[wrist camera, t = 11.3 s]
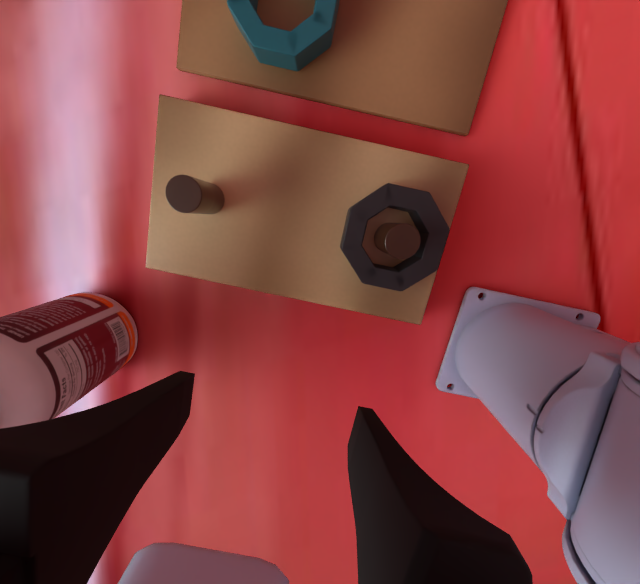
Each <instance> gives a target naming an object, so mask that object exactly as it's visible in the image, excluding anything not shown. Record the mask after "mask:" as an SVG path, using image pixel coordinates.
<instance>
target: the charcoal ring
mask: <svg viewBox="0 0 640 584" xmlns="http://www.w3.org/2000/svg"><path fill="white" fill-rule="evenodd" d="M386 208H392V209H397V210H401V211H406V212H408V213H409V215H410V217H411V219H412V220H413V222H414V224H415V226H416V227H417V229H418V231H419V234H420V239H421V242H420V246H419V249H418V251H417V252H416V253H415V254H414V255H413V256H412V257H410V258H407V259H406V260H404V261H402V262H401V263H399V264H397V265H396V266H394V267H389V266H384V265H379V264H375V263H372V261H371V259H370V258H369V256H368V255H367V253H366V251H365V250H364V248H363V246H362V243H363V239H364V235H365V231H366V227H367V223H368V220H369V219H371V218H372V217H374V216H375V215H377V214H378V213H380V212H381V211H383V210H385V209H386ZM449 229H450V228H449V226H448V225H447V223H446V221H445V219H444V217H443V215H442V214H441V212H440V210H439V208H438V206H437V204H436V203H435V201H434V199H433V197H432V195H431V193H430V192H427V191H423V190H418V189H414V188H409V187H405V186H400V185H396V184H391V183H387V184H385V185H383V186H381V187H380V188H378V189H377V190H375V191H374V192H372V193H371V194H369V195H368V196H366V197H365V198H363V199H362V200H360V201H359V202H357V203H356V204H354V205H353V206H351V207H350V208H349V209H348V212H347V216H346V221H345V225H344V230H343V234H342V238H341V243H340V248H341V250H342V252H343V254H344V255H345V257H346V258H347V260H348V261H349V263H350V265H351V266H352V268H353V269H354V271H355V273H356V274H357V276H358V277H359V279H360V280H361V282H362V283H363V284H367V285H372V286H376V287H381V288H386V289H391V290H395V291H404V290H405V289H407V288H409V287H410V286H412V285H414V284H415V283H417V282H419V281H420V280H422V279H424V278H425V277H427V276H429V275H430V274H432V273H434V272H435V271H437V270H438V267H439V264H440V260H441V257H442V254H443V251H444V247H445V244H446V241H447V237H448V234H449V231H450V230H449Z"/></svg>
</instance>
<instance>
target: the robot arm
mask: <svg viewBox="0 0 640 584" xmlns="http://www.w3.org/2000/svg"><path fill="white" fill-rule="evenodd" d="M480 293H483V296H482V298H478V295H479V294H480ZM578 314H579V317H578V318H576V316H577V315H578ZM599 322H600V316H599V314H597V313H594V312H591V311H586V310H582V309H577V308H572V307H568V306H563V305H558V304H554V303H549V302H544V301H540V300H535V299H530V298H526V297H521V296H516V295H511V294H507V293H502V292H497V291H493V290H488V289H483V288H479V287H470V288H468V289H467V290H466V292H465V295H464V298H463V301H462V304H461V307H460V310H459V313H458V316H457V319H456V322H455V325H454V328H453V331H452V334H451V337H450V340H449V343H448V346H447V349H446V352H445V355H444V358H443V361H442V364H441V368H440V371H439V374H438V377H437V380H436V387H437V388H438V389H439V390H440V391H443V392H448V393H453V394H458V395H463V396H468V397H473V398H478V399H480V400H481V402H482V403H483V404H484V405H485V406H486V407H487V409H488V410H489V411H490V412H491V413H492V414H493V415H494V417H495V418H496V419H497V420H498V421H499V422H500V424H501V425H502V426H503V427H504V428H505V429H506V431H507V432H508V433H509V434H510V435H511V436H512V438H513V439H514V440H515V441H516V442H517V443H518V444H519V446H520V447H521V448H522V449H523V450H524V451H525V453H526V454H527V455H528V456H529V457H530V458H531V460H532V461H533V462H534V463H535V464H536V465H537V467H538V468H539V469H540V470H541V471H542V472H543V473H544V475H545V477H546V478H547V482H548V492H547V496H548V497H549V498H550V499H551V501H552V502H553V503H554V504H555V506H556V507H557V508H558V509H559V511H560V512H561V513H562V514H563V516H564V517H565V518H566V519H567V522H566V525H565V528H564V531H563V534H562V547H563V551H564V556H565V559H566V561H567V564H568V566H569V569H570V571H571V573H572V575H573V576H574V578H575V580H576V582H577V584H640V342H635V343H630V342H628V341H625V340H623V339H620V338H618V337H615V336H613V335H610V334H608V333H605V332H603V331H600V330H598V329H597V327H598V324H599ZM194 376H195V374H194V373H188V372H183V371H179V372H177V373H175V374H172V375H170V376H168V377H166V378H164V379H162V380H160V381H158V382H156V383H153V384H151V385H149V386H147V387H145V388H143V389H141V390H138V391H136V392H133V393H131V394H129V395H126V396H124V397H122V398H119V399H117V400H114V401H111V402H109V403H106V404H103V405H100V406H97V407H94V408H91V409H88V410H85V411H81V412H77V413H74V414H70V415H66V416H62V417H58V418H55V419H50V420H46V421H41V422H36V423H31V424H26V425H20V426H14V427H8V428H1V429H0V584H87V582H88V580H89V578H90V577H91V575H92V573H93V571H94V569H95V567H96V565H97V564H98V562H99V560H100V558H101V556H102V554H103V552H104V551H105V549H106V547H107V545H108V544H109V542H110V540H111V538H112V537H113V535H114V533H115V531H116V529H117V528H118V526H119V524H120V522H121V521H122V519H123V517H124V516H125V514H126V512H127V510H128V509H129V507H130V505H131V504H132V502H133V500H134V499H135V497H136V495H137V494H138V492H139V491H140V489H141V488H142V486H143V485H144V483H145V482H146V480H147V479H148V478H149V476H150V475H151V474H152V472H153V471H154V469H155V468H156V467H157V465H158V464H159V462H160V461H161V460H162V458H163V457H164V455H165V454H166V453H167V451H168V450H169V448H170V447H171V446H172V444H173V443H174V441H175V440H176V438H177V437H178V435H179V434H180V432H181V430H182V428H183V426H184V425H185V423H186V421H187V419H188V417H189V415H190V407H191V399H192V392H193V384H194ZM448 384H452V385H451V387H447V386H448ZM348 473H349V481H350V489H351V496H352V503H353V510H354V518H355V526H356V536H357V558H358V584H532V574H531V571H530V569H529V567H528V565H527V563H526V562H525V560H524V558H523V556H522V555H521V553H520V551H519V550H518V548H517V546H516V545H515V543H514V541H513V540H512V538H511V536H510V535H509V534H507V533H506V532H504V531H503V530H501V529H499V528H498V527H496V526H495V525H493V524H491V523H490V522H488V521H487V520H485V519H483V518H482V517H480V516H479V515H477V514H476V513H474V512H473V511H472V510H470V509H469V508H467V507H466V506H465V505H463V504H462V503H461V502H459V501H458V500H457V499H455V498H454V497H453V496H451V495H450V494H449V493H448V492H447V491H445V490H444V489H443V488H442V487H441V486H439V485H438V484H437V483H436V482H435V481H434V480H433V479H432V478H430V477H429V476H428V475H427V474H426V473H425V472H424V471H423V470H422V469H421V468H420V467H419V466H418V465H417V464H416V463H415V462H414V461H413V460H412V459H411V457H410V456H409V455H408V454H407V453H406V452H405V451H404V449H403V448H402V447H401V446H400V445H399V444H398V442H397V441H396V440H395V439H394V437H393V436H392V435H391V433H390V432H389V431H388V429H387V428H386V427H385V425H384V424H383V423H382V421H381V420H380V419H379V417H378V416H377V415H376V413H375V412H374V411H373V409H370V408H365V407H360V406H358V410H357V413H356V417H355V421H354V424H353V428H352V432H351V436H350V439H349V443H348ZM118 584H289V580H288V579H287V577H286V576H285V575H284V574H283V573H282V572H281V571H280V569H279V568H278V567H277V566H276V565H275V564H273V563H270V562H268V561H265V560H263V559H260V558H256V557H251V556H245V555H240V554H234V553H229V552H223V551H218V550H212V549H206V548H201V547H195V546H190V545H184V544H179V543H153V544H151V545H149V546H147V547H145V548H143V549H141V550H139V551H138V552H136V553H135V554H134V556H133V558H132V560H131V562H130V563H129V565H128V567H127V569H126V570H125V572H124V574H123V576H122V577H121V579H120V581H119V583H118Z"/></svg>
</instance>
